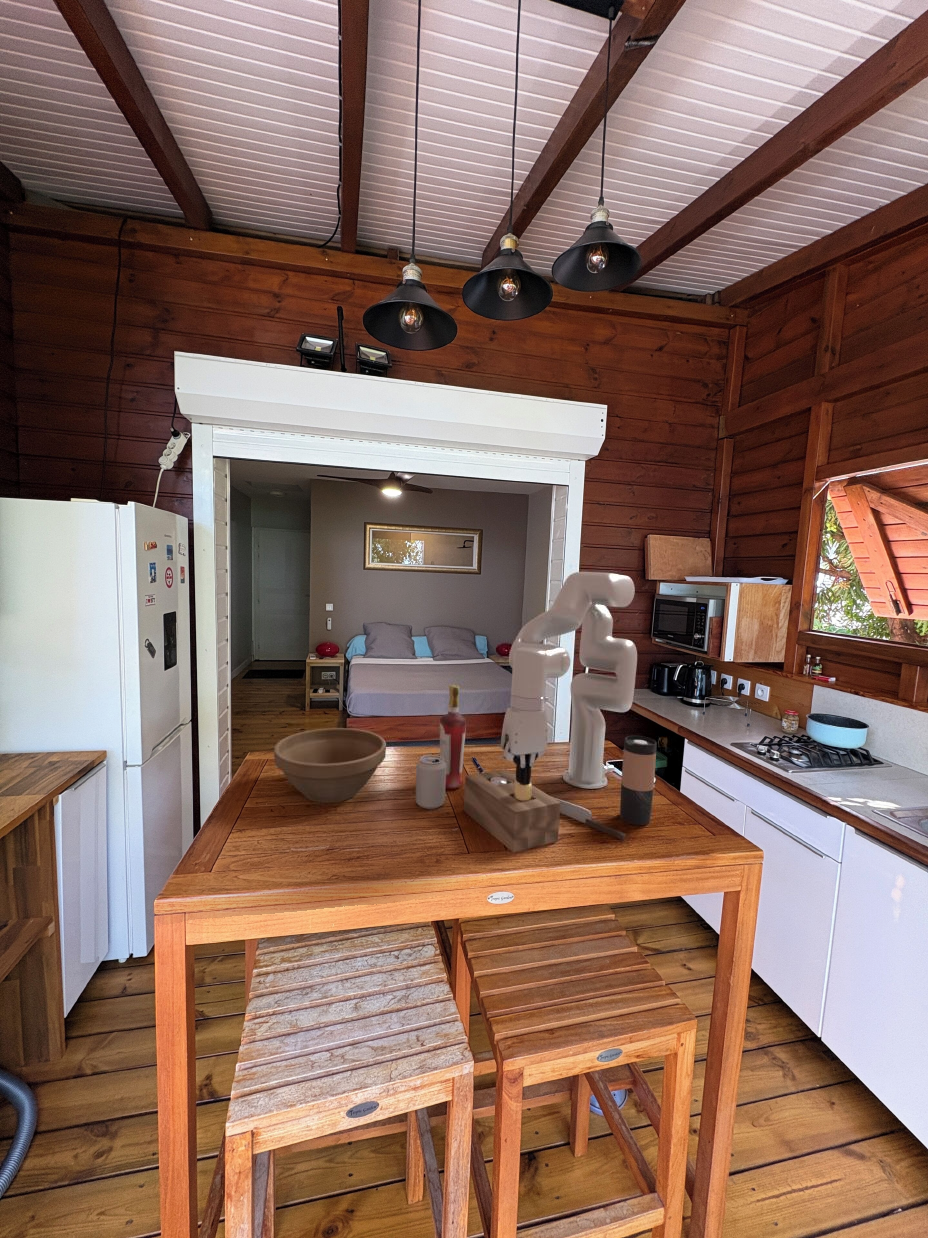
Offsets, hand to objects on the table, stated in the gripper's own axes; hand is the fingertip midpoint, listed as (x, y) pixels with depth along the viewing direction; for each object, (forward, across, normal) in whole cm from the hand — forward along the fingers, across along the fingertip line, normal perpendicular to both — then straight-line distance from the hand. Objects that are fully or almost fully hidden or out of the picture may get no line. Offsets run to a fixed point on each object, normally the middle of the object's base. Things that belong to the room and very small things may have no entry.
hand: (522, 782), depth 122 cm
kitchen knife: (+13, -17, -3) cm, 22 cm away
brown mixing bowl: (+13, +33, -40) cm, 53 cm away
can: (+13, +12, -23) cm, 29 cm away
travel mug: (+12, -31, +5) cm, 34 cm away
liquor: (+12, +2, -31) cm, 34 cm away
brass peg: (+8, 0, 0) cm, 9 cm away
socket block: (+12, 0, -5) cm, 13 cm away
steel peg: (+12, 0, -10) cm, 16 cm away
